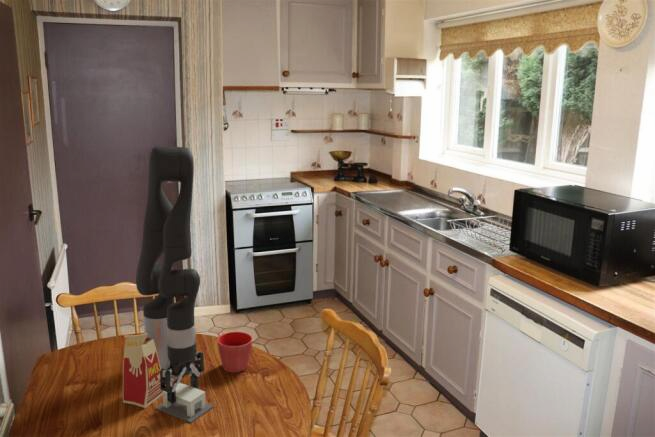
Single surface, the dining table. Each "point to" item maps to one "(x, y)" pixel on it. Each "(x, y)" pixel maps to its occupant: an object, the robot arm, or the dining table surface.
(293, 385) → the dining table surface
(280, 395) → the dining table surface
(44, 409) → the dining table surface
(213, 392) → the dining table surface
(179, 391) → the stool
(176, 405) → the mat
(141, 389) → the milk carton
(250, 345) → the flower pot
